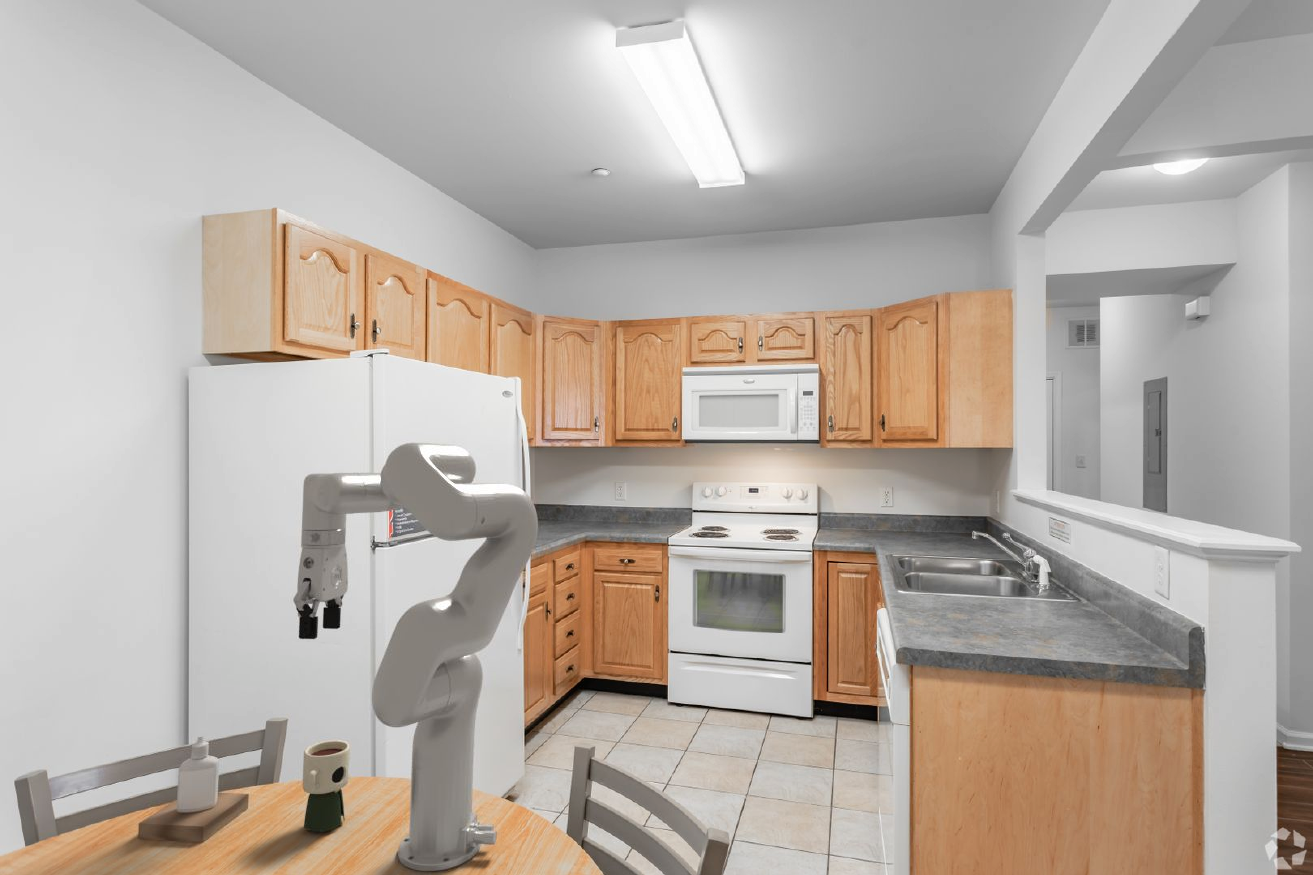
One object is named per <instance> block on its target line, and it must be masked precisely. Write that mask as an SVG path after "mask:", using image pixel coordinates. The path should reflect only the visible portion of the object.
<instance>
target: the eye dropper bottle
mask: <svg viewBox="0 0 1313 875" xmlns="http://www.w3.org/2000/svg"><path fill="white" fill-rule="evenodd" d="M209 745H210V743H209V742H208V741H205V739H204V735H203V734H200V735H198V736H197V741H196V742H195V743H193V744H192V745H191V754H190V758H188V759H186V760H185V761H183V762H181V764H180V765H179V768H178V778H177V779H178V781H177V796H176V798H177V812H179V813H191V812H198V811H203V810H207V809H210V808H212V807H214V806H215V804H216V802H217V798H218V792H219V774H220V771H219V770H220V761H219V760H220V759H219V758H218V757H216V756H213V755H209V747H210V746H209Z"/></svg>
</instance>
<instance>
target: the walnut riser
mask: <svg viewBox="0 0 1313 875" xmlns="http://www.w3.org/2000/svg"><path fill="white" fill-rule="evenodd" d="M249 796H250V794H249V793H234V792H219V791H218V798H217V802H216V804H215V806H214V807H212V808H210V809H207V810H203V811H198V812H191V813H179V812H177V799H174V800H173V801H171V802H170V803H169V804H167V805H165V806H164V807H162V808H161V809H159V810H158V811H155V812H154V813H152V814H151V815H149V816H148V817H146V818H145V819H143V820H141V821H140V822H139V823H138V828H137V829H138V831H137V836H138V837H137V839H138V840H150V841H167V842H169V841H170V842H187V843H205V841H207V840H208V839H210V838H211V837H212V836H213V835H215V834H216V833H217V832H219V831H220V830H221V829H223V828H224V827H225V826H227V825H228V824H229V823H231V822H232V821H233V820H235V819H236V818H237V817H239V816H240V815H241V814H242V813H244V812H245V811H246V810H248V809H249Z"/></svg>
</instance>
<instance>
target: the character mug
mask: <svg viewBox="0 0 1313 875" xmlns="http://www.w3.org/2000/svg"><path fill="white" fill-rule="evenodd" d="M350 760H351V745H350V744H349V742H347V741H345V740H340V739H339V740H335V739H334V740H326V741H321V742H320V741H319V742H317V743H314V744H312V745H310V746H308V747H306V748H305V750H304V751H303V766H302V767H303V768H302V790H303V791H304V793H307V794H309V795H308V797H307V803H306V807H305V808H306V809H305V814H304V820H303V822H304V823H303V828H304V829H305V830H307V831H313V832H322V833H323V832H329V831H332V830H334V829H336V828H338V827H340V826H341V825H342V818H343V822H345V821H346V820H345V808H344V807H345V805H344V797H343V790H342V788H345V787H346V786H347V785H348V783H349V779H350V773H349V765H350Z"/></svg>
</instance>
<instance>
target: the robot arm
mask: <svg viewBox="0 0 1313 875" xmlns="http://www.w3.org/2000/svg"><path fill="white" fill-rule="evenodd" d="M476 472H477V466H476V462H475V460H474V457H473V456H472V455H471V454H470V453H469V452H468V451H467V450H466V449H464V448H462V447H460V446H458V445H454V444H453V445H452V444H447V443H445V444H444V443H429V442H427V443H426V442H407V443H404V444H401V445H399V446H397V447H395V449H393V450H392V451H391V452H390V453H389V455H388V456H387V458H386V461H385V464H384V465H383V466H382V469H381V471H380V472H335V473H333V472H332V473H311V474H308V475H306V476H305V477H304V480H303V487H302V488H303V489H302V490H303V491H302V517H301V536H300V537H301V541H300V548H301V553H300V556H299V557H300V558H299V564H298V573H297V575H298V576H297V586H296V587H297V592H296V593H295V595H294V597H293V598H292V599H293V600H292V601H293V603H294V605H295V607H296V611H297V617H298V618H299V622H298V626H299V627H298V638H299V639H300V640H316V639H317V638H318V633H319V632H318V631H319V630H318V629H319V616H316V615H317V612H318V609H319V606H320V603H324V605H325V606H324V607H323V609H322V610H323V612H322V613H323V614H322V628H323V629H326V630H327V629H328V630H329V629H330V630H331V629H332V630H338V629H340V628H341V614H342V613H341V612H342V606H343V598H344V596H345V594H346V593H347V592H348V588H349V586H348V584H349V583H348V582H349V578H348V574H349V573H348V570H349V569H348V556H347V555H348V554H347V547H346V538H347V537H346V534H347V531H346V530H347V515H348V514H349V515H353V514H363V513H364V514H367V513H370V514H371V513H382V512H383V513H384V512H390V511H395V510H399V509H404V508H405V509H406V510H407V511H408V512H409V513H410V514H411V515H412V516H413V517H414V518H415V519H416V520H417V522H418V523H419V524H421V526H422V527H423V528H424V529H425V530H426V531H427V532H428V533H430V534H431V535H433V536H434V537H436V538H437V539H440V540H443V541H448V542H451V541H452V542H454V541H455V542H456V541H465V540H475V539H483V538H485V540H484V542H483V543H482V544H481V546H479V548H478V549H476V551H475V552H474V553H473V554H472V555H471V556H470V557H469V559H468V560H467V562H466V563H465V565H464V567H463V568H462V570H461V573H460V576H459V579H458V581H457V582H456V584H455V586H454V588H453V590H452V591H451V592H450V593H449V594H447V595H445V596H442V597H437V598H433V599H429V600H423V601H421V602H418V603H416V604H414V605H412V606H410V607H409V608H408V609H407V610H406V611H405V612H404V613H403V614H402V615H401V617H400V618H399V620H398V621H397V622H396V626H395V628H394V630H393V632H392V635H391V637H390V639H389V642H388V645H387V647H386V649H385V651H384V655H383V657H382V660H381V662H380V665H379V667H378V669H377V671H376V675H375V677H374V681H373V684H372V689H371V690H372V692H371V703H372V709H373V712H374V714H375V716H376V718H377V720H378V721H380V722H381V723H382V724H383V725H385V726H387V727H390V728H405V727H408V726H411V725H414V724H416V723H417V724H416V725H415V726H416V727H415V730H414V734H413V738H412V750H411V751H412V754H411V780H410V802H409V803H410V806H409V808H410V809H409V810H410V811H409V829H408V830H409V831H408V834H407V835H406V836H405V837H404V838H403V839H402V840H401V841H400V843H399V844H398V847H397V848H398V849H397V850H398V851H397V852H398V853H397V856H398V859H399V861H400V863H401V864H402V865H403V866H405V867H407V868H409V869H411V870H415V871H419V872H436V871H437V872H438V871H443V870H449V869H452V868H455V867H457V866H460V865H461V864H464V863H465V862H467V861H469V860H471V858H473V857H474V856H475V855H476V854H477V853H478V851H479V850H480V848H481V845H487V846H488V845H490V846H495V845H496V842H497V836H498V832H497V830H494V828H495V827H494V824H492V823H491V824H490V823H484V824H483V823H480V822H479V821H478V812H473V786H474V785H473V783H474V756H475V755H474V754H475V752H474V751H475V749H474V748H475V736H476V735H475V731H476V719H477V710H478V704H479V700H480V696H481V692H482V688H483V677H484V676H483V667H482V664H481V661H480V659H479V657H478V656H477V655H476V653H478V652H481V651H482V650H484V649H485V648H487V646H489V645H490V643H491V642H492V640H493V638H494V636H495V634H496V632H497V630H498V627H499V625H500V622H501V620H502V618H503V616H504V613H505V612H506V609H507V607H508V604H509V603H510V600H511V596H512V595H513V591H514V589H515V587H516V585H517V583H518V581H519V579H520V577H521V574H522V573H523V571H524V569H525V568H526V566H527V564H528V562H529V560H530V558H531V556H532V554H533V551H534V549H535V546H536V542H537V539H538V533H539V521H538V520H539V519H538V514H537V510H536V506H535V505H534V504H535V503H534V502H533V500H532V498H531V497H530V496H529V494H528V493H527V492H526V491H525V490H523V489H521V488H520V487H517V486H516V485H512V484H508V483H503V482H502V483H501V482H500V483H499V482H478V483H477V482H476V483H473V482H474V479H475V477H476V474H477V473H476ZM310 605H312V606H310Z"/></svg>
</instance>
